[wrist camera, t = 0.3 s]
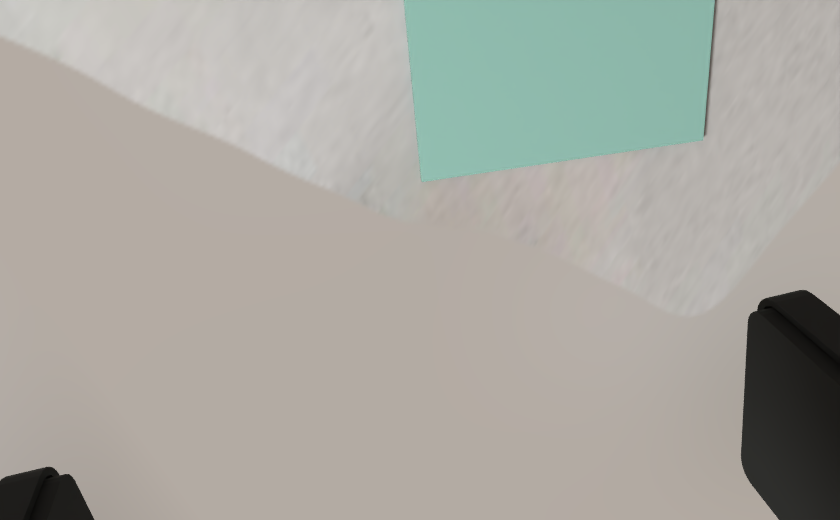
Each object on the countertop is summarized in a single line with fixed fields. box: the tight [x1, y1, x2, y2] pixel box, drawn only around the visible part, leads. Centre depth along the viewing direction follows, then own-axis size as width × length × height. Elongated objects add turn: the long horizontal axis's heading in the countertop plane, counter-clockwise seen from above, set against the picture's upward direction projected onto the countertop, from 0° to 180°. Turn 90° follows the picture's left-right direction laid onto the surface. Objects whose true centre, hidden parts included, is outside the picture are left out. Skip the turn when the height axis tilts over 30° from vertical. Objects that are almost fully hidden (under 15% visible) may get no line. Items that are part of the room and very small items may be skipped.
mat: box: [404, 0, 715, 182], centre depth 39 cm, size 15×16×1 cm
